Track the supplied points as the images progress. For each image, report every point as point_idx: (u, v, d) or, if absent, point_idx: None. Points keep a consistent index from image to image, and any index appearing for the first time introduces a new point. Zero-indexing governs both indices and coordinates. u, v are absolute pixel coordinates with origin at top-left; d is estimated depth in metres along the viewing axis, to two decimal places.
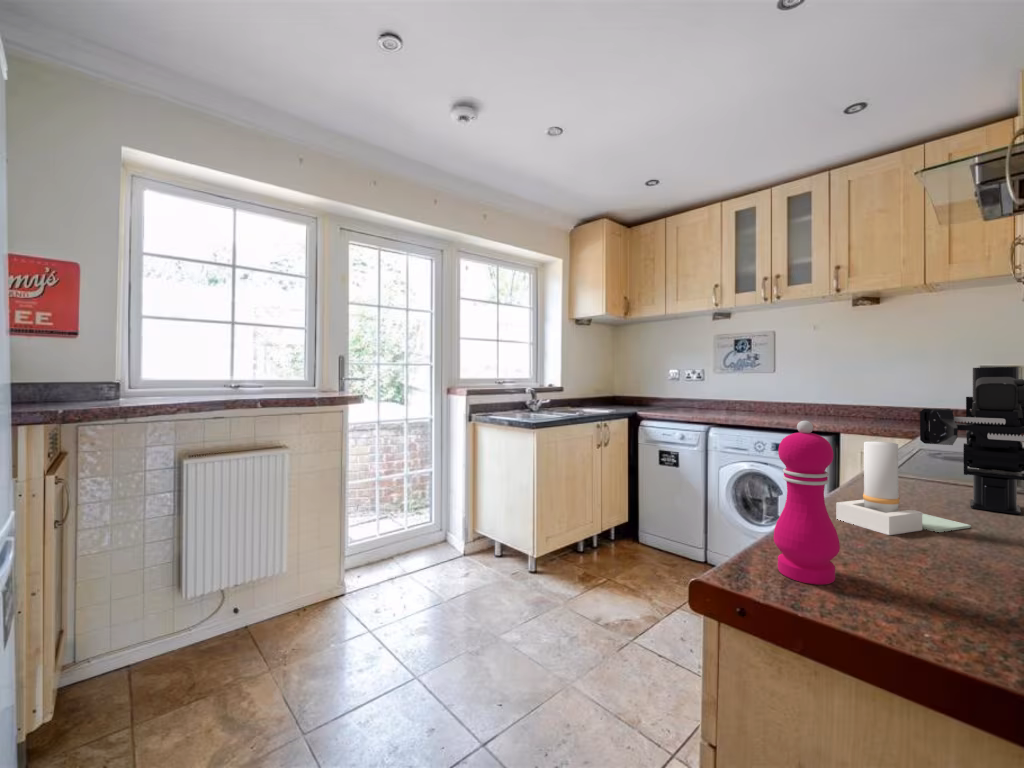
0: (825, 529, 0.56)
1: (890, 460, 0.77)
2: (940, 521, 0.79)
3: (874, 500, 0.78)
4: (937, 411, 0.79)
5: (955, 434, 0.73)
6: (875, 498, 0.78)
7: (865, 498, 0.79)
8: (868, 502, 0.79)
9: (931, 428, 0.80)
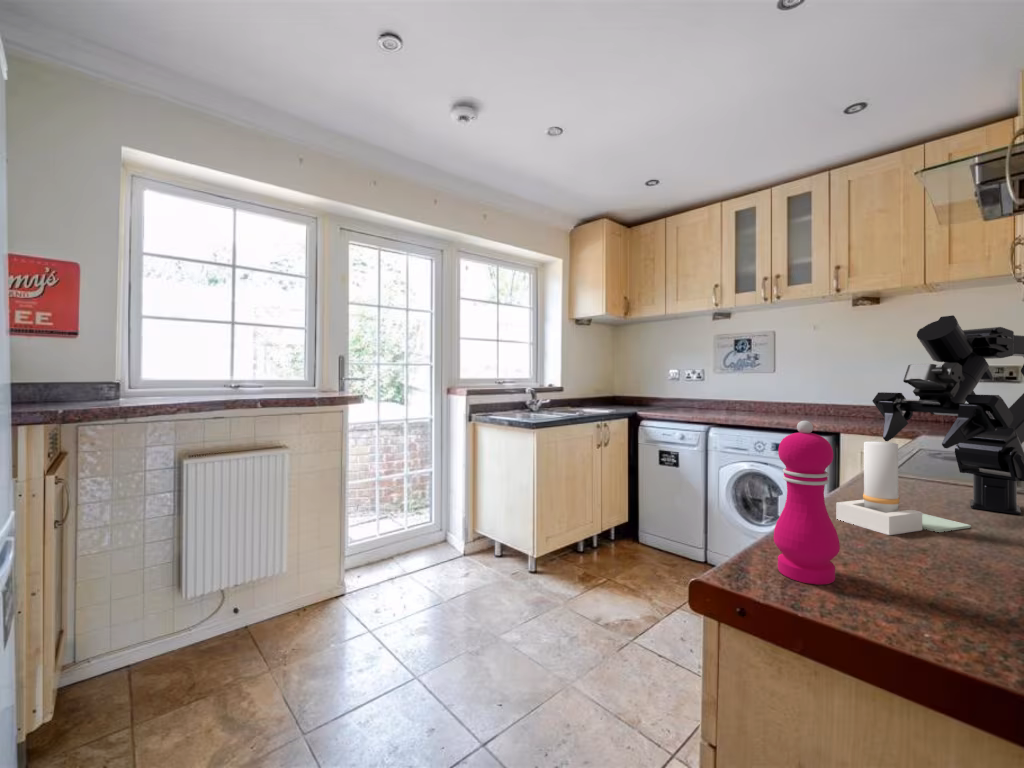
0: (825, 529, 0.56)
1: (890, 460, 0.77)
2: (940, 521, 0.79)
3: (874, 500, 0.78)
4: (882, 404, 0.88)
5: None
6: (875, 498, 0.78)
7: (865, 498, 0.79)
8: (868, 502, 0.79)
9: (885, 414, 0.90)
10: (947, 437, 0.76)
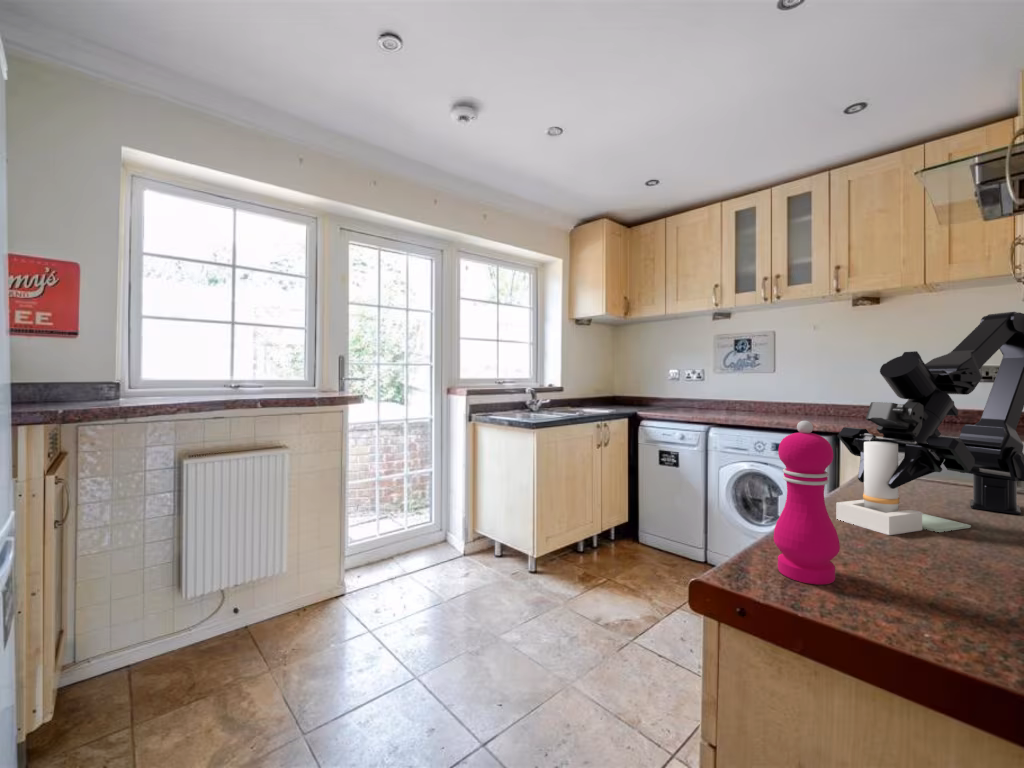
0: (825, 529, 0.56)
1: (890, 460, 0.77)
2: (940, 521, 0.79)
3: (874, 500, 0.78)
4: (857, 441, 0.84)
5: None
6: (875, 498, 0.78)
7: (865, 498, 0.79)
8: (868, 502, 0.79)
9: None
10: (893, 477, 0.76)
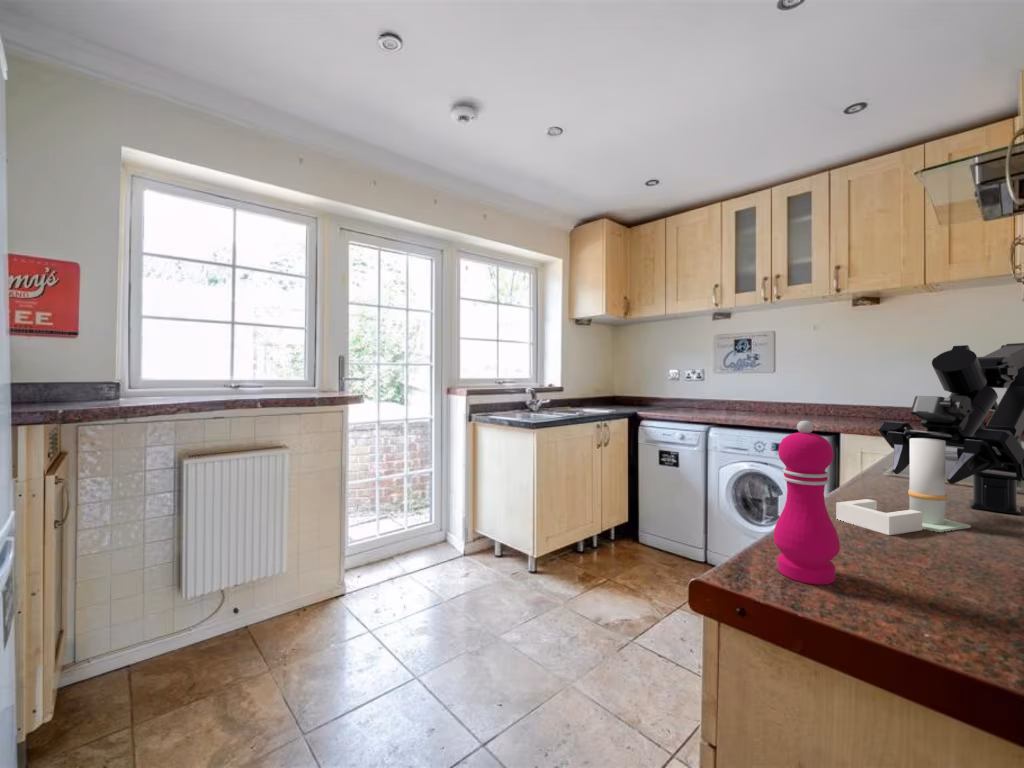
0: (825, 530, 0.56)
1: (938, 456, 0.77)
2: None
3: (921, 496, 0.78)
4: (891, 434, 0.86)
5: (896, 473, 0.83)
6: (922, 495, 0.78)
7: (911, 494, 0.80)
8: (914, 498, 0.79)
9: None
10: (952, 472, 0.75)
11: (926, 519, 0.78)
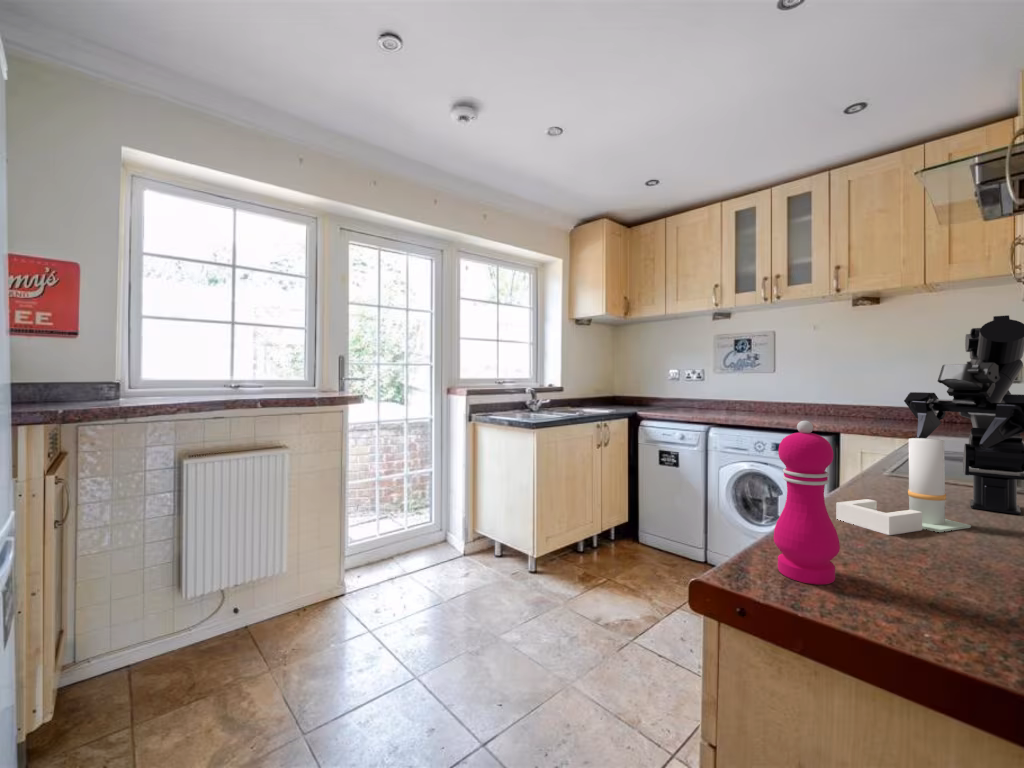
0: (825, 529, 0.56)
1: (937, 456, 0.77)
2: None
3: (920, 496, 0.78)
4: (914, 404, 0.88)
5: None
6: (921, 495, 0.78)
7: (911, 494, 0.80)
8: (913, 498, 0.79)
9: (917, 414, 0.90)
10: (984, 437, 0.76)
11: (926, 519, 0.78)
